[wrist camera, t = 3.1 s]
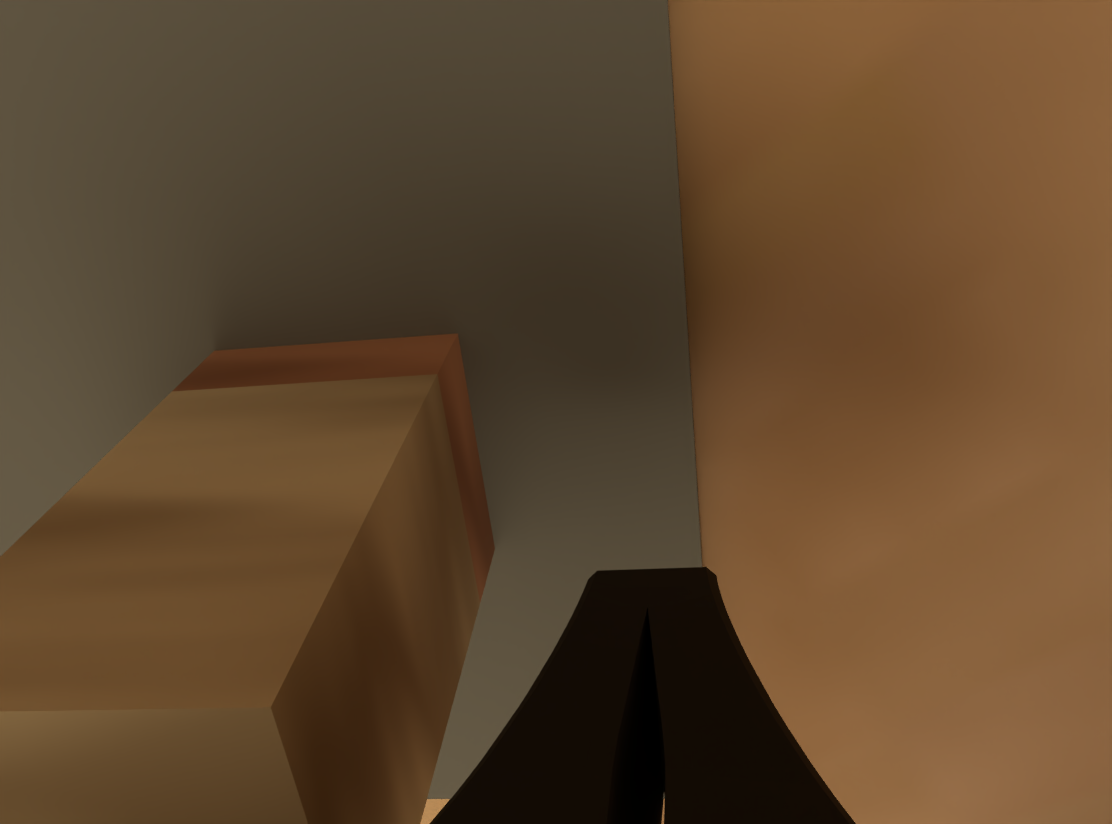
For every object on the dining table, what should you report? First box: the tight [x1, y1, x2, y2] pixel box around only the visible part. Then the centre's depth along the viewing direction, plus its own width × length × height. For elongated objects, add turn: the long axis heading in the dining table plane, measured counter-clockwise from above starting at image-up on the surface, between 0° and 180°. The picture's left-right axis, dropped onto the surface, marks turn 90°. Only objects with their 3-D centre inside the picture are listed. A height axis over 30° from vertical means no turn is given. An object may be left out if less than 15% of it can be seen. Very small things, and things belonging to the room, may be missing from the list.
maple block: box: [0, 333, 495, 824], centre depth 13 cm, size 4×4×8 cm
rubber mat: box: [0, 0, 702, 799], centre depth 17 cm, size 16×20×1 cm
